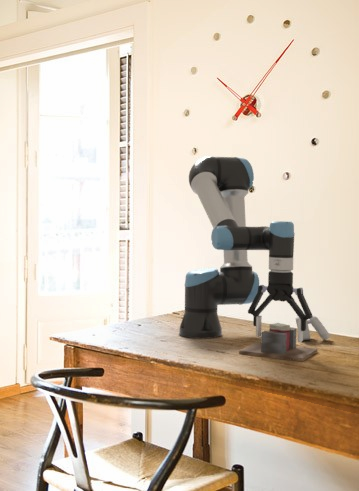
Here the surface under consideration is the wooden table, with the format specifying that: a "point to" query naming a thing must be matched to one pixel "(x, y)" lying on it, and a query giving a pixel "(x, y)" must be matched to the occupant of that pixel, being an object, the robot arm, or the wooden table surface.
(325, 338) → the wall hook
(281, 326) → the small box
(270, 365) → the wooden table surface
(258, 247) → the robot arm
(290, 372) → the wooden table surface
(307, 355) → the slotted post block
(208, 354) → the wooden table surface
